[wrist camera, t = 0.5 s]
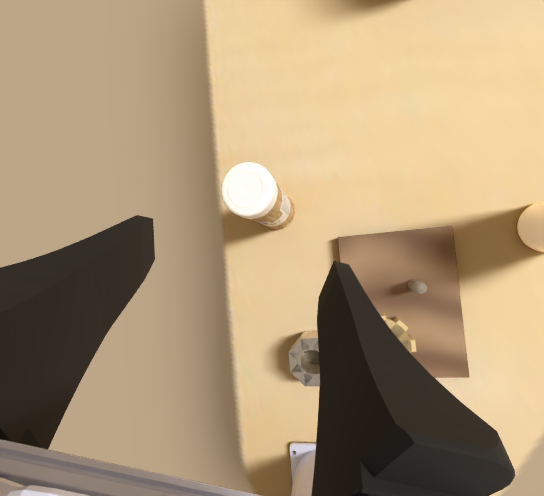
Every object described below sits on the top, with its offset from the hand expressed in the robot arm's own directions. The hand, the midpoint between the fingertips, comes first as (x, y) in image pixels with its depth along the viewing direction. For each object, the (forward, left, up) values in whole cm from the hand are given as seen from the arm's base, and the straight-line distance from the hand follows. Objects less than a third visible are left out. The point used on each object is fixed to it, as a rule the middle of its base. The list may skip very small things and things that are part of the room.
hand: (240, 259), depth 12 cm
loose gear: (-12, 0, -25) cm, 28 cm away
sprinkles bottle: (+6, +3, -26) cm, 26 cm away
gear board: (-6, -10, -25) cm, 28 cm away
